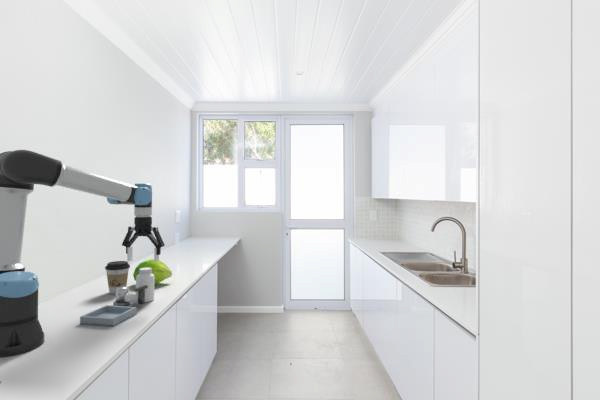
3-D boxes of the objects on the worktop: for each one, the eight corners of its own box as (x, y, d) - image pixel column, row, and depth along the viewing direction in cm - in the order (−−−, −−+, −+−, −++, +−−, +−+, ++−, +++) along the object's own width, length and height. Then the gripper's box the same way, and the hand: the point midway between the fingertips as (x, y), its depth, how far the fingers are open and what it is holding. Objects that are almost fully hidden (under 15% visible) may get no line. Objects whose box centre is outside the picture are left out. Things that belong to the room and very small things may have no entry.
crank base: (123, 307, 151) (123, 304, 151) (109, 306, 152) (109, 303, 152) (146, 296, 167) (146, 294, 167) (133, 295, 168) (133, 293, 168)
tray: (113, 326, 129) (113, 319, 129) (80, 323, 131) (80, 316, 131) (136, 313, 143) (136, 307, 143) (106, 311, 145) (106, 305, 145)
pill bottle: (147, 303, 157) (147, 270, 156) (131, 302, 158) (132, 269, 158) (157, 298, 164) (158, 267, 164) (143, 297, 166) (143, 266, 166)
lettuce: (170, 286, 185) (170, 261, 185) (129, 288, 181) (129, 262, 180) (173, 279, 200) (173, 256, 200) (135, 281, 195) (136, 257, 195)
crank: (112, 302, 153) (112, 285, 153) (123, 298, 158) (123, 282, 158) (138, 306, 148) (138, 288, 148) (148, 302, 154) (149, 285, 154)
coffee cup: (101, 296, 167) (102, 265, 167) (108, 289, 178) (108, 260, 178) (127, 294, 170) (127, 264, 170) (132, 288, 181) (132, 260, 181)
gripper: (172, 216, 163) (172, 260, 163) (124, 215, 166) (124, 258, 167) (163, 217, 155) (163, 263, 156) (113, 216, 159) (113, 261, 159)
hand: (143, 261), depth 161 cm, fingers open, 13 cm apart
